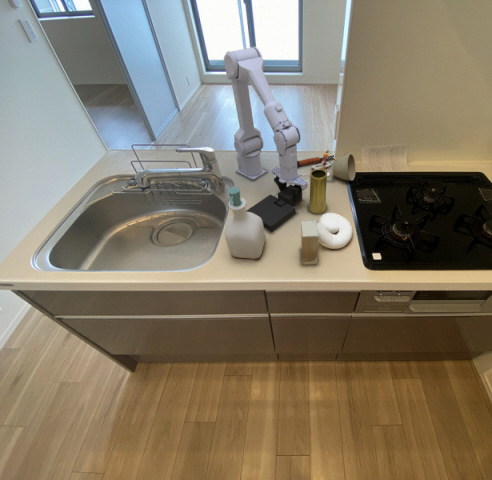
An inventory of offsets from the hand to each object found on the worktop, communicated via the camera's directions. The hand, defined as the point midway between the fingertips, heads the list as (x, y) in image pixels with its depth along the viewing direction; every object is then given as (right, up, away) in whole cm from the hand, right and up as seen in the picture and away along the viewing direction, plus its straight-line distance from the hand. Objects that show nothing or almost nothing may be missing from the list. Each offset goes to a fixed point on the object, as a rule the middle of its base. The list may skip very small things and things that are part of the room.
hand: (290, 197), depth 101 cm
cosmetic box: (+6, -20, -17) cm, 27 cm away
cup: (+17, +13, +10) cm, 24 cm away
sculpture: (+14, -14, -10) cm, 22 cm away
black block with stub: (-1, -2, 0) cm, 2 cm away
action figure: (+13, +12, +14) cm, 23 cm away
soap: (+12, +15, +17) cm, 25 cm away
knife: (+14, +19, +17) cm, 29 cm away
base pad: (-6, -7, -4) cm, 10 cm away
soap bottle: (-12, -18, -14) cm, 26 cm away
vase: (+10, -4, -1) cm, 11 cm away
